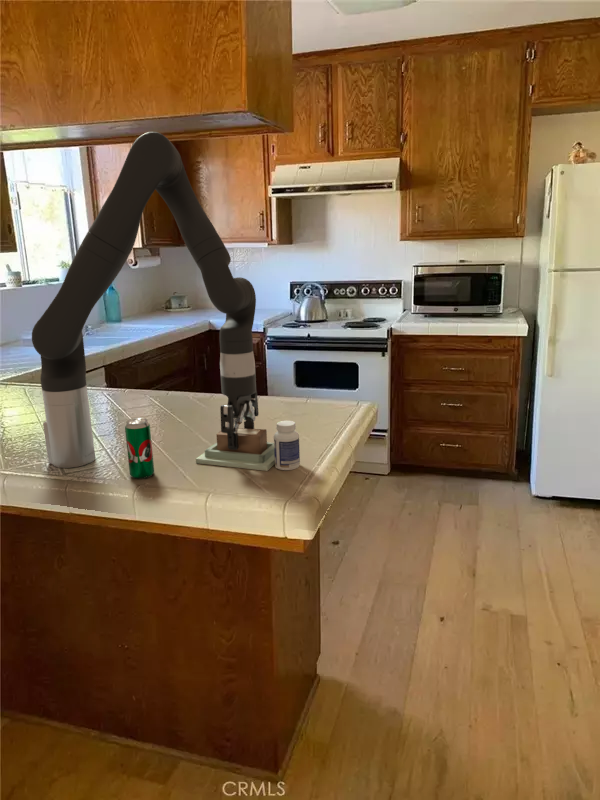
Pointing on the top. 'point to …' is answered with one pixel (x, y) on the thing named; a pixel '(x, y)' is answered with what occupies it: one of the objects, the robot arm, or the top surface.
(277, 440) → the pill bottle
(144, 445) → the soda can
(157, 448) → the top surface
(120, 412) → the top surface
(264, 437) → the brown block
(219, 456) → the pale green tray
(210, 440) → the top surface
